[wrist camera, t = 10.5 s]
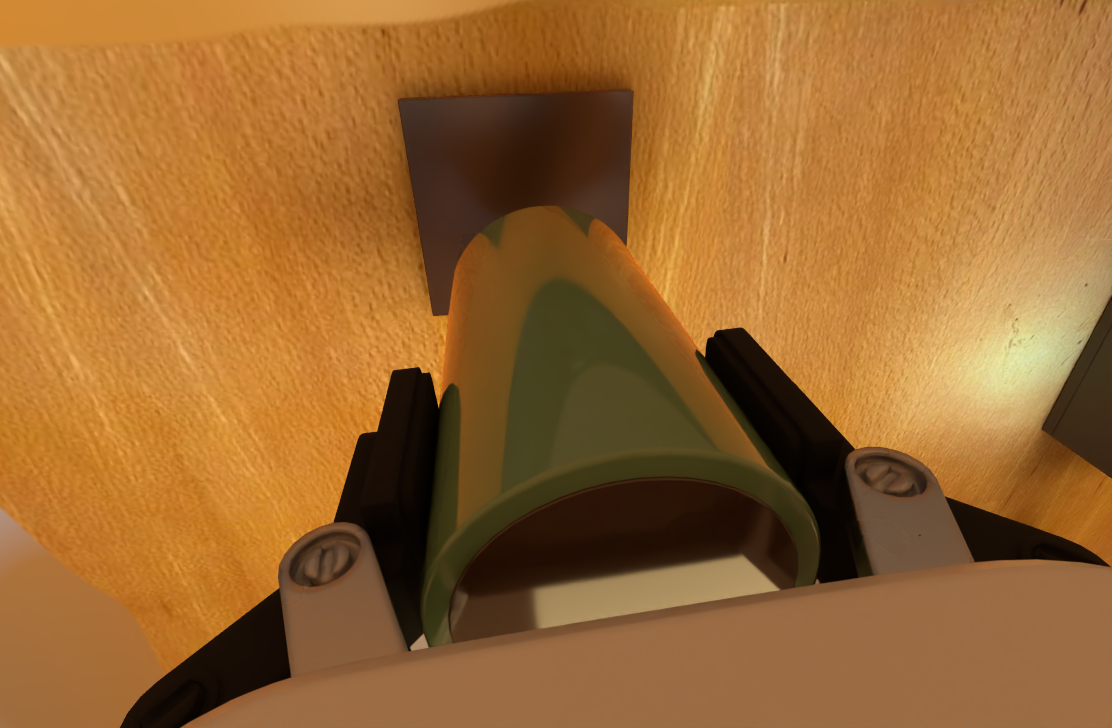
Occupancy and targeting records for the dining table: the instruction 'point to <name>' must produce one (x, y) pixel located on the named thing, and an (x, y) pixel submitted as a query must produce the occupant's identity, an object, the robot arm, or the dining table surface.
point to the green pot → (589, 448)
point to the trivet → (512, 165)
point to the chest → (1088, 401)
